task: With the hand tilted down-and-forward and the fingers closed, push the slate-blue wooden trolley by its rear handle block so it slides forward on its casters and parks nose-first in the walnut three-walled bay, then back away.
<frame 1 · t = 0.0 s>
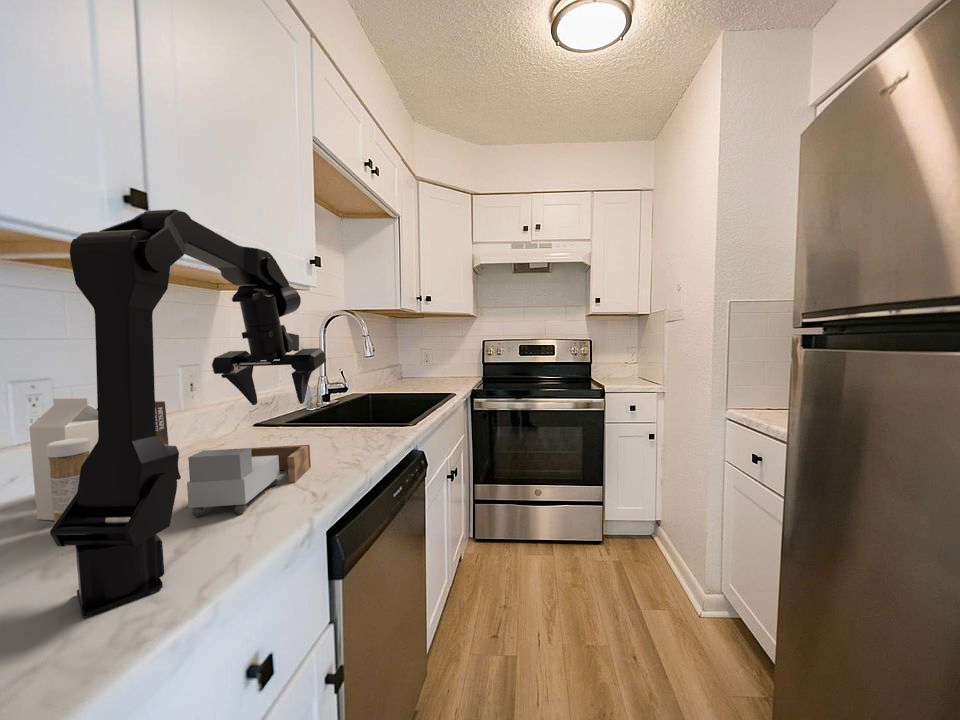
hand: (278, 403, 79), 15 cm above the worktop, tool pointing down, fingers open, 9 cm apart
bay: (266, 477, 84), on the worktop
sprinkles bottle: (75, 530, 62), on the worktop
trolley: (239, 499, 72), on the worktop
milk carton: (79, 513, 69), on the worktop
coffee box: (138, 485, 82), on the worktop
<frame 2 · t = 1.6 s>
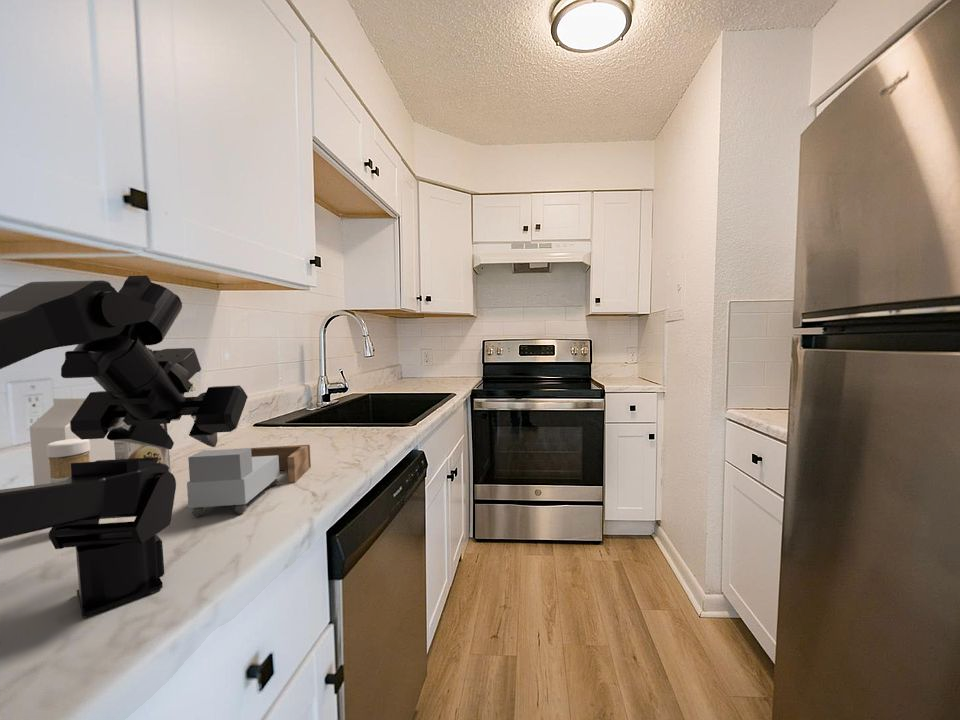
hand: (193, 445, 60), 13 cm above the worktop, tool tilted 45°, fingers open, 6 cm apart
nothing on the worktop moved.
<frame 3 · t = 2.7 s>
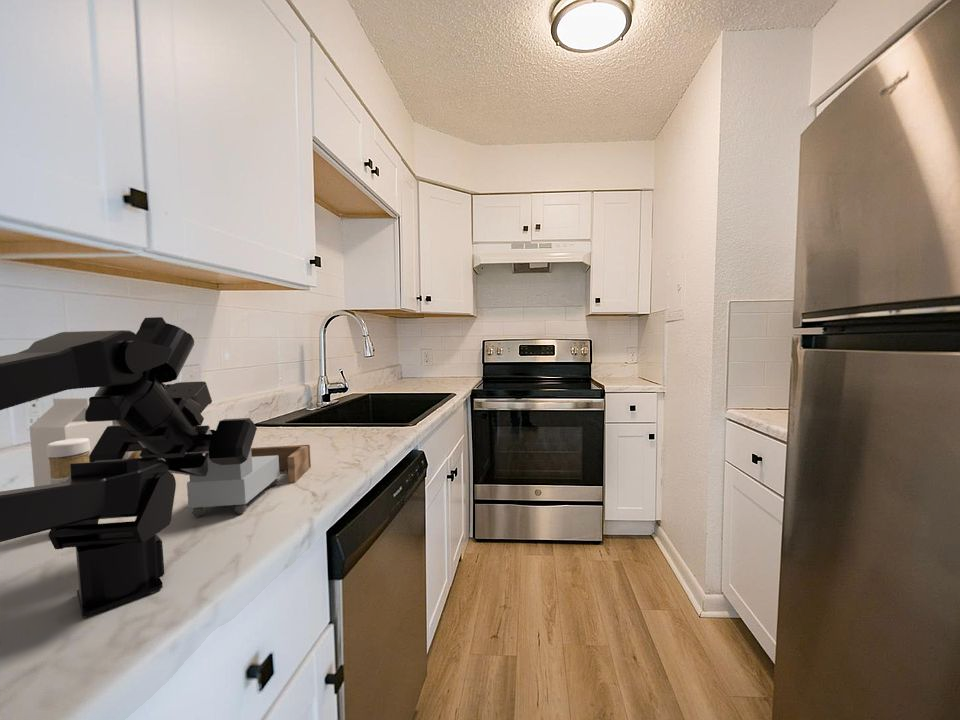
hand: (204, 473, 62), 8 cm above the worktop, tool tilted 45°, fingers closed
nothing on the worktop moved.
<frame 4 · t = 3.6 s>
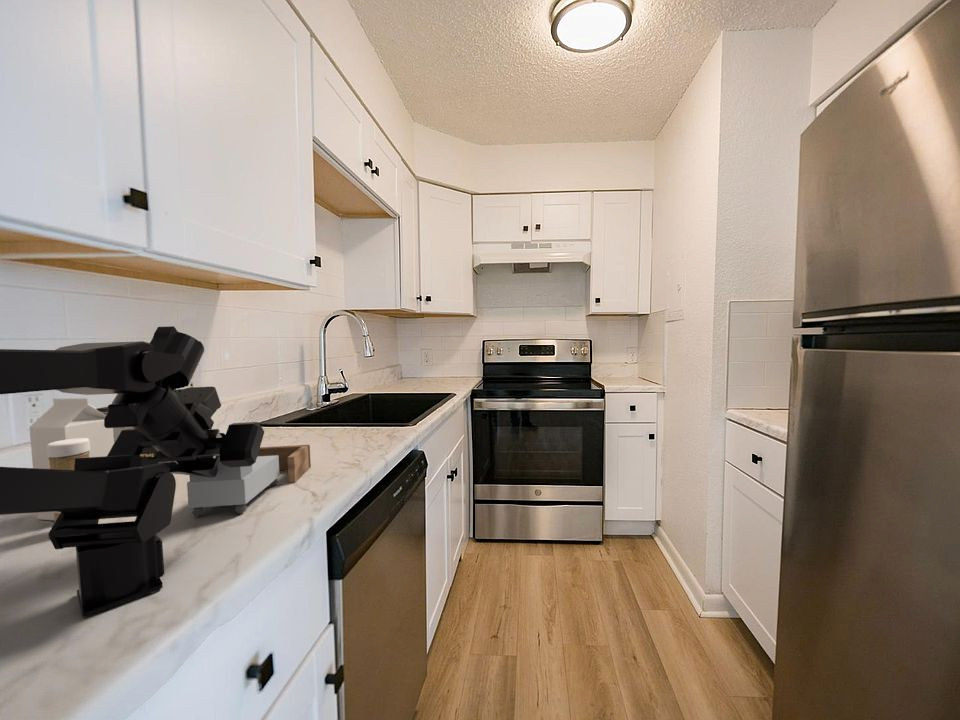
hand: (214, 474, 65), 7 cm above the worktop, tool tilted 45°, fingers closed, pressing on trolley
trolley: (239, 499, 72), on the worktop, touching gripper
everything else where it was.
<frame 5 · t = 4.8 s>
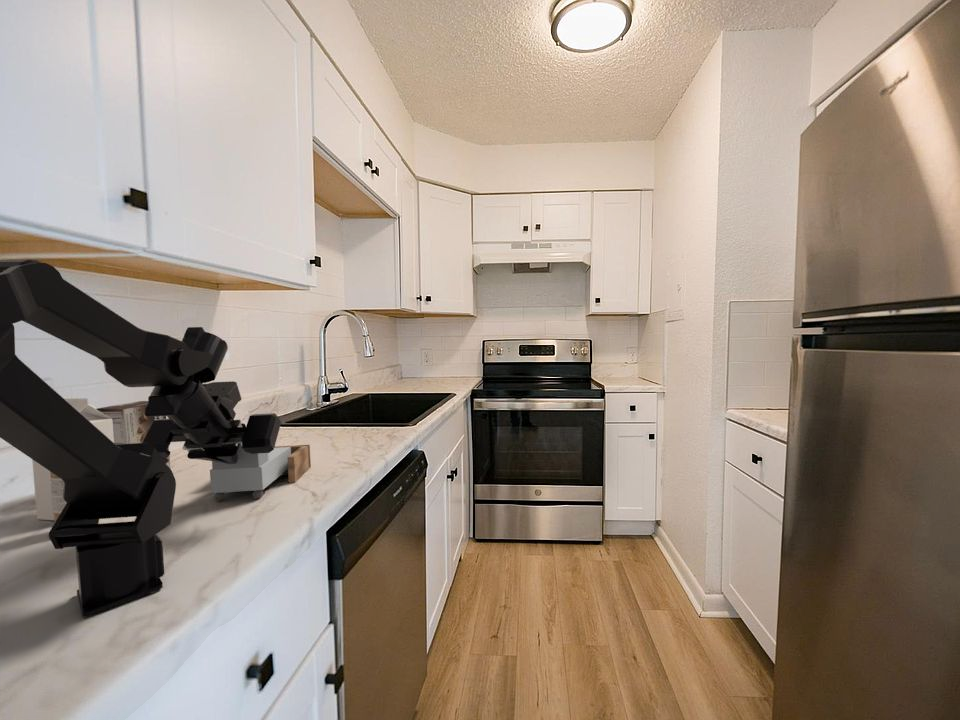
hand: (234, 461, 71), 7 cm above the worktop, tool tilted 45°, fingers closed, pressing on trolley
trolley: (255, 486, 79), on the worktop, touching gripper
everything else where it was.
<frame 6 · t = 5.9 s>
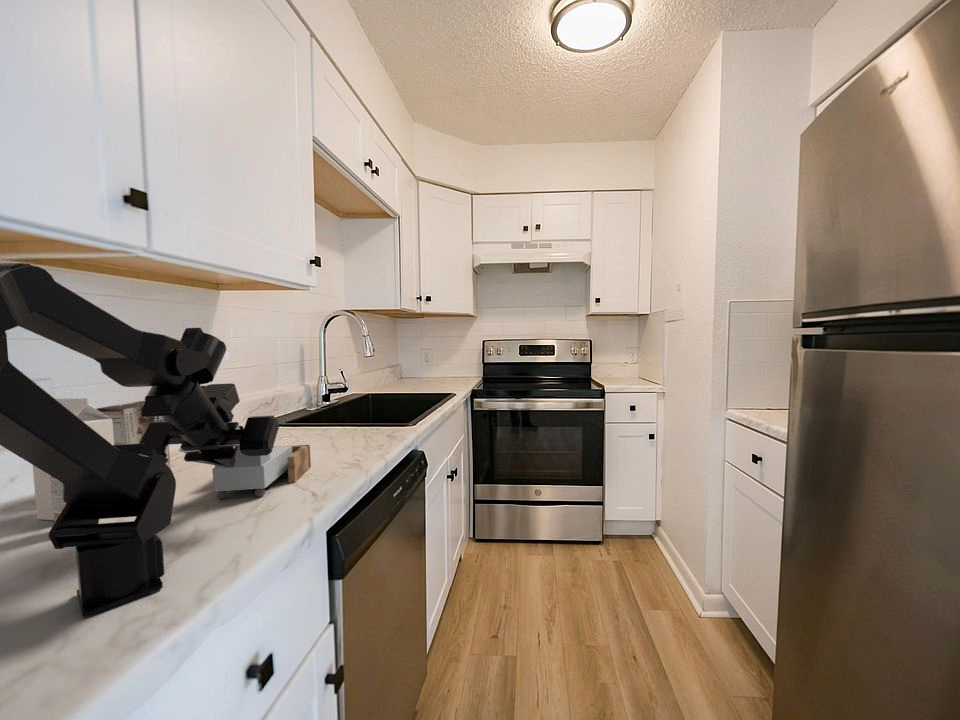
hand: (232, 464, 70), 7 cm above the worktop, tool tilted 45°, fingers closed
trolley: (257, 485, 80), on the worktop
everything else where it was.
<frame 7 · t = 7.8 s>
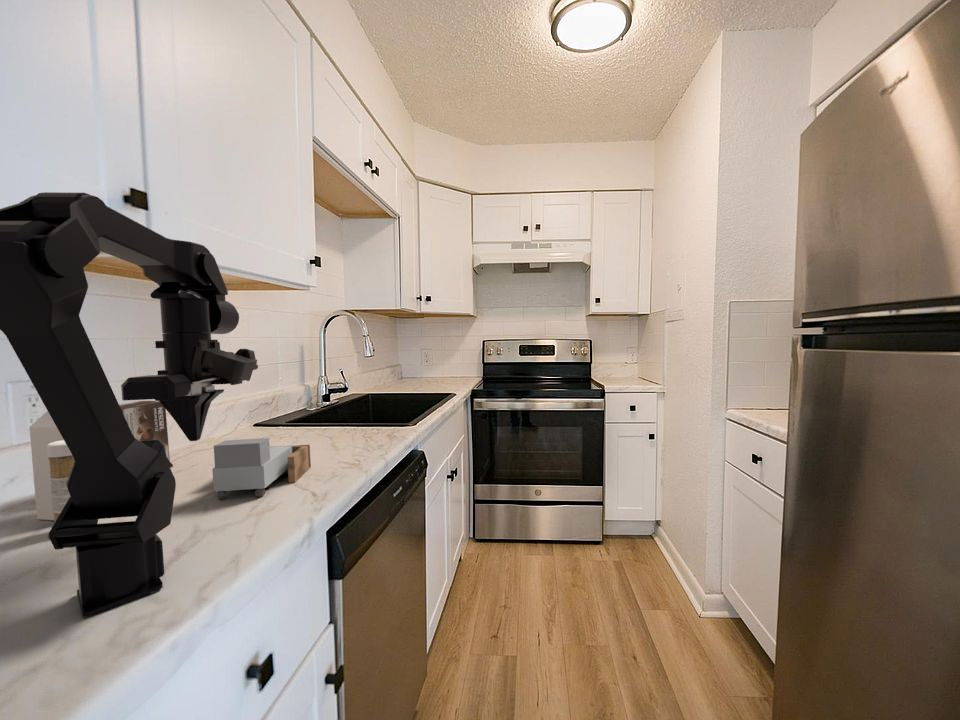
hand: (194, 440, 61), 13 cm above the worktop, tool pointing down, fingers closed
nothing on the worktop moved.
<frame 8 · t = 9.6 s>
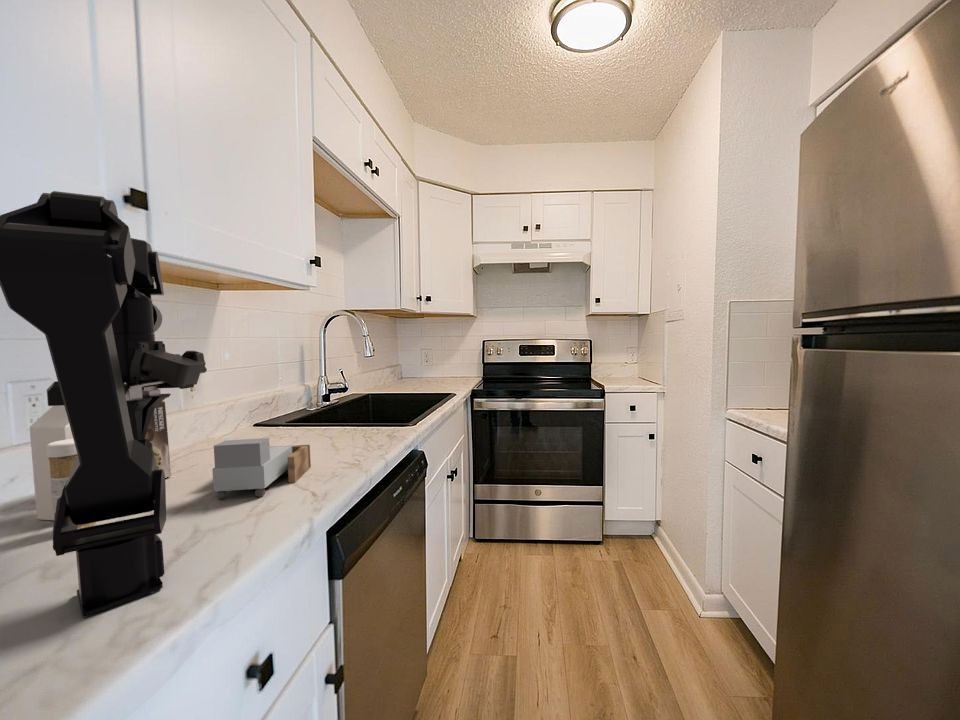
hand: (136, 447, 57), 13 cm above the worktop, tool pointing down, fingers closed
nothing on the worktop moved.
at the end: trolley 0.7 cm from the target spot on the bay, point 0.0 cm above the bay's base; trolley tilted 0° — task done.
